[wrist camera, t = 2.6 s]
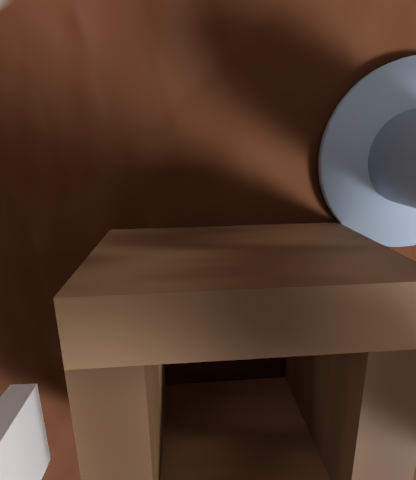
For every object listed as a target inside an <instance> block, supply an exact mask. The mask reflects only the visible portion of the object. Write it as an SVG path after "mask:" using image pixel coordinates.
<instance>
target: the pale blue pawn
mask: <svg viewBox="0 0 416 480" xmlns="http://www.w3.org/2000/svg"><path fill="white" fill-rule="evenodd" d="M318 175H319V183H320V187H321V191H322V195H323V197H324V200H325V202H326V204H327V206H328V208H329V210H330V211H331V213H332V214H333V216H334V217H335V218H336V219H337V221H338V222H339V223H340V224H342V225H344V226H346V227H348V228H350V229H352V230H354V231H356V232H358V233H360V234H362V235H364V236H366V237H368V238H370V239H372V240H374V241H376V242H378V243H380V244H382V245H384V246H389V247H403V246H412V245H416V55H413V56H409V57H404V58H401V59H398V60H396V61H393V62H390V63H388V64H385V65H383V66H381V67H379V68H377V69H375V70H373V71H372V72H370V73H369V74H367V75H366V76H365V77H363V78H362V79H361V80H359V81H358V82H357V83H356V84H355V85H354V86H353V87H352V88H351V89H350V90H349V91H348V92H347V93H346V94H345V96H344V97H343V98H342V99H341V101H340V102H339V103H338V105H337V106H336V108H335V109H334V111H333V113H332V115H331V117H330V119H329V120H328V123H327V125H326V128H325V130H324V133H323V136H322V140H321V144H320V149H319V156H318Z"/></svg>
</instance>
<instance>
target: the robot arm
mask: <svg viewBox="0 0 416 480" xmlns="http://www.w3.org/2000/svg"><path fill="white" fill-rule="evenodd" d="M50 459H51V458H50V452H49V447H48V441H47V435H46V430H45V424H44V419H43V413H42V407H41V402H40V396H39V390H38V385H37V383H36V384H15V385H9V387H8V388H7V389H6V391H5V392H4V393H3V395H2V396H1V397H0V480H42V477H43V475H44V473H45V471H46V468H47V466H48V464H49V462H50Z"/></svg>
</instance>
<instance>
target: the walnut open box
mask: <svg viewBox="0 0 416 480" xmlns="http://www.w3.org/2000/svg"><path fill="white" fill-rule="evenodd" d="M53 300H54V307H55V313H56V320H57V326H58V333H59V339H60V346H61V352H62V359H63V365H64V372H65V378H66V385H67V391H68V398H69V404H70V411H71V417H72V424H73V430H74V437H75V443H76V450H77V456H78V463H79V469H80V476H81V480H413V476H414V471H415V466H416V261H414V260H412V259H410V258H408V257H406V256H404V255H402V254H400V253H398V252H396V251H394V250H392V249H390V248H388V247H386V246H384V245H382V244H380V243H378V242H376V241H374V240H372V239H370V238H368V237H366V236H364V235H362V234H360V233H358V232H356V231H354V230H352V229H350V228H348V227H346V226H344V225H342V224H340V223H338V222H332V223H300V224H269V225H237V226H205V227H174V228H142V229H110V230H109V231H108V233H107V234H106V235H105V236H104V237H103V239H102V240H101V241H100V242H99V243H98V245H97V246H96V247H95V248H94V249H93V251H92V252H91V253H90V254H89V256H88V257H87V258H86V259H85V260H84V262H83V263H82V264H81V265H80V266H79V268H78V269H77V270H76V271H75V272H74V274H73V275H72V276H71V277H70V278H69V280H68V281H67V282H66V283H65V284H64V286H63V287H62V288H61V289H60V290H59V292H58V293H57V294H56V295H55V296H54V298H53ZM277 357H286V368H285V377H279V378H263V379H247V380H232V381H216V382H200V383H184V384H169V385H166V371H165V364H176V363H193V362H210V361H227V360H244V359H261V358H277Z"/></svg>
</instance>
